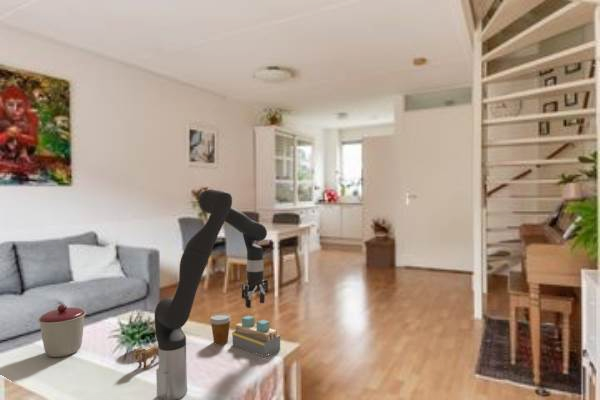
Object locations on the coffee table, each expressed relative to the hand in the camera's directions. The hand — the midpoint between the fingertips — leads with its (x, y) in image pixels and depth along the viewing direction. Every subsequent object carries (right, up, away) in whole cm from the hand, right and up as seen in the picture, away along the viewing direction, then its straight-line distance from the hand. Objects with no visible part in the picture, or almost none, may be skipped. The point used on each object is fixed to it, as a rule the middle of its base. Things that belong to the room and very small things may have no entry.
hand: (255, 305), depth 171 cm
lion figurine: (-41, -20, -16) cm, 49 cm away
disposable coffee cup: (-17, -19, +7) cm, 26 cm away
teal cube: (+4, -10, -3) cm, 11 cm away
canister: (-84, -20, -3) cm, 86 cm away
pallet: (0, -13, 0) cm, 13 cm away
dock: (0, -19, +1) cm, 19 cm away
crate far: (-4, -10, +3) cm, 11 cm away
